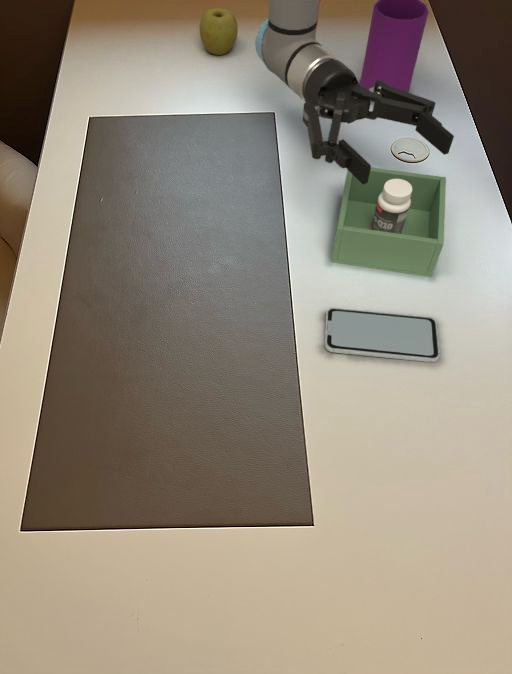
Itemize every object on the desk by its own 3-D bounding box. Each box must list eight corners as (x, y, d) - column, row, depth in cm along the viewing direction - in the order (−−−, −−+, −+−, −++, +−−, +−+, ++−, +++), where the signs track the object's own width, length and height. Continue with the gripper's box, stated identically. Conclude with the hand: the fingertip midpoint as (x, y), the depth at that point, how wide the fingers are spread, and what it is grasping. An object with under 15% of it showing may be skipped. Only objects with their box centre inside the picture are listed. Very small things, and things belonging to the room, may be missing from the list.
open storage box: (434, 211, 99) (446, 177, 93) (430, 277, 91) (443, 243, 85) (342, 199, 101) (348, 164, 95) (330, 262, 93) (337, 228, 87)
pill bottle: (363, 231, 96) (374, 186, 89) (383, 217, 97) (395, 172, 90) (387, 247, 94) (400, 202, 87) (407, 232, 95) (421, 188, 88)
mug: (355, 101, 116) (370, 16, 104) (367, 58, 125) (383, -25, 112) (404, 108, 115) (426, 23, 102) (414, 65, 123) (434, -19, 111)
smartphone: (440, 360, 81) (325, 348, 82) (438, 364, 82) (324, 353, 83) (436, 317, 86) (326, 306, 86) (434, 321, 86) (325, 311, 87)
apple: (239, 41, 129) (240, 4, 123) (234, 62, 124) (234, 24, 118) (203, 39, 129) (202, 2, 124) (197, 59, 125) (195, 22, 119)
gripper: (385, 85, 101) (472, 156, 90) (250, 128, 94) (327, 211, 84) (395, 37, 95) (490, 108, 84) (251, 80, 88) (334, 163, 78)
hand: (409, 160), depth 84 cm, fingers open, 13 cm apart
